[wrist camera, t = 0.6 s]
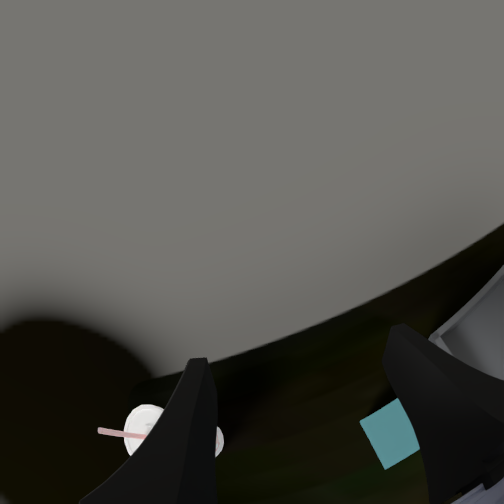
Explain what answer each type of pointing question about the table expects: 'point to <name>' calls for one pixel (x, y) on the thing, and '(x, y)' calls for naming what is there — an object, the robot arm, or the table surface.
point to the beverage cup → (146, 428)
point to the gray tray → (478, 330)
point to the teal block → (391, 433)
